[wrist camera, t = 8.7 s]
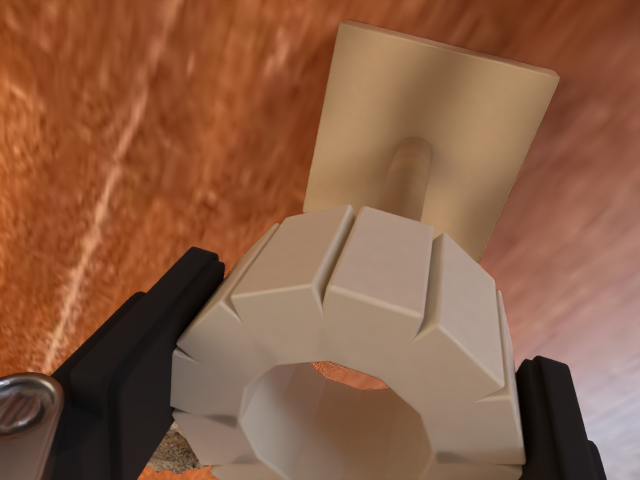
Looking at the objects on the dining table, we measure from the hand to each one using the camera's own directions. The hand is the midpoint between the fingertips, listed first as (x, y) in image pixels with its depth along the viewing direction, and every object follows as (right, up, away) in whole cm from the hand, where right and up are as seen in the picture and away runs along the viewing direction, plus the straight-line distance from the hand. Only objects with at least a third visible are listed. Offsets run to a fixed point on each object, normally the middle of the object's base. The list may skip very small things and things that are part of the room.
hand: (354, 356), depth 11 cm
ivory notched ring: (0, 0, +1) cm, 1 cm away
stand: (+4, +7, +13) cm, 15 cm away
